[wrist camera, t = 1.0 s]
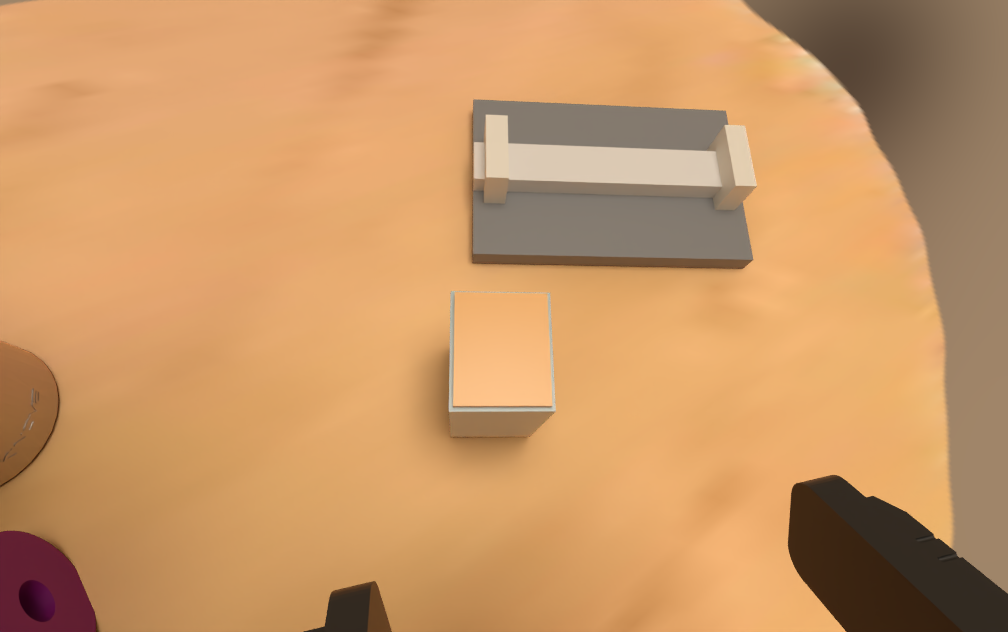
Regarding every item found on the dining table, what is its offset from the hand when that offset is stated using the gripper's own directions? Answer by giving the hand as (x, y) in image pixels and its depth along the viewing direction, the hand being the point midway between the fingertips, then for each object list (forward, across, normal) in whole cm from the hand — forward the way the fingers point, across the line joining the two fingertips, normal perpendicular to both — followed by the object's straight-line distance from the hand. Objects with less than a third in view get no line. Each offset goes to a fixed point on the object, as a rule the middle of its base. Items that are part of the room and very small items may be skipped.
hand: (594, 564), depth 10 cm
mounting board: (+33, -12, -1) cm, 35 cm away
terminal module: (+24, 0, +9) cm, 26 cm away
